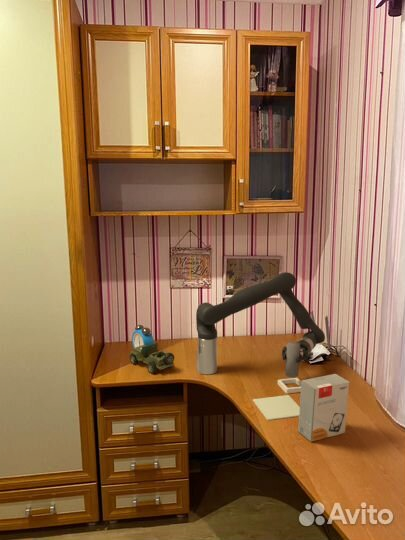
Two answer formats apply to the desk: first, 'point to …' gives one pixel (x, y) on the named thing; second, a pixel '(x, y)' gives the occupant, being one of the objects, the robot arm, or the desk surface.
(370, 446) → the desk surface
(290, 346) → the grey cylinder
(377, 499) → the desk surface
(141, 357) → the toy jeep
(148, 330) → the alarm clock
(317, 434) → the hard drive box
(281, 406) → the pale sage mat
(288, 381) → the off-white collar
